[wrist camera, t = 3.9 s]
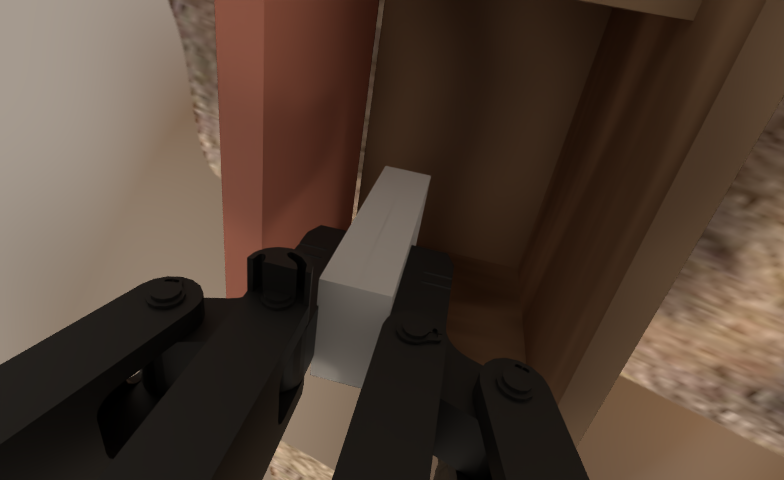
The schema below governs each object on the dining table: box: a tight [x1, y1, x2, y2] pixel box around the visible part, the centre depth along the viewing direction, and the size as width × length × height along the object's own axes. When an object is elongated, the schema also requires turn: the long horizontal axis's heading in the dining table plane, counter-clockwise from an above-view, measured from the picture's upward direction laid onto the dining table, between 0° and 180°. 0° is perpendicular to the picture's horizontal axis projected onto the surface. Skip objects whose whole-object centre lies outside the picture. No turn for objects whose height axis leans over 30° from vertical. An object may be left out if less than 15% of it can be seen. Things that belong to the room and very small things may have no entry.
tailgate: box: [215, 0, 379, 298], centre depth 19 cm, size 2×14×13 cm, turn 171°
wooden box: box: [357, 0, 784, 447], centre depth 22 cm, size 11×16×21 cm
